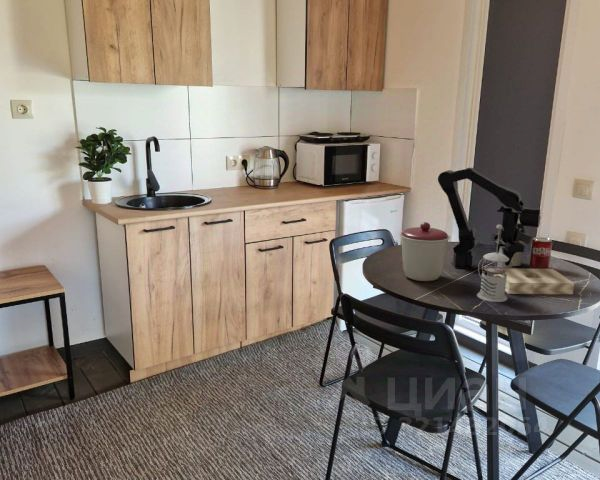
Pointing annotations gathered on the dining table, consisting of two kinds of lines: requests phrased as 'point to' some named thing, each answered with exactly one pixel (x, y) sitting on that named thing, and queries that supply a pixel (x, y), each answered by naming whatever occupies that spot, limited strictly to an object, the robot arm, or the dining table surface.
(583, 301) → the dining table surface
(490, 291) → the french press
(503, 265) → the steel peg
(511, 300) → the dining table surface
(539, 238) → the soda can
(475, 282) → the dining table surface
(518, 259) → the travel mug
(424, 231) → the canister
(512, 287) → the hole block
